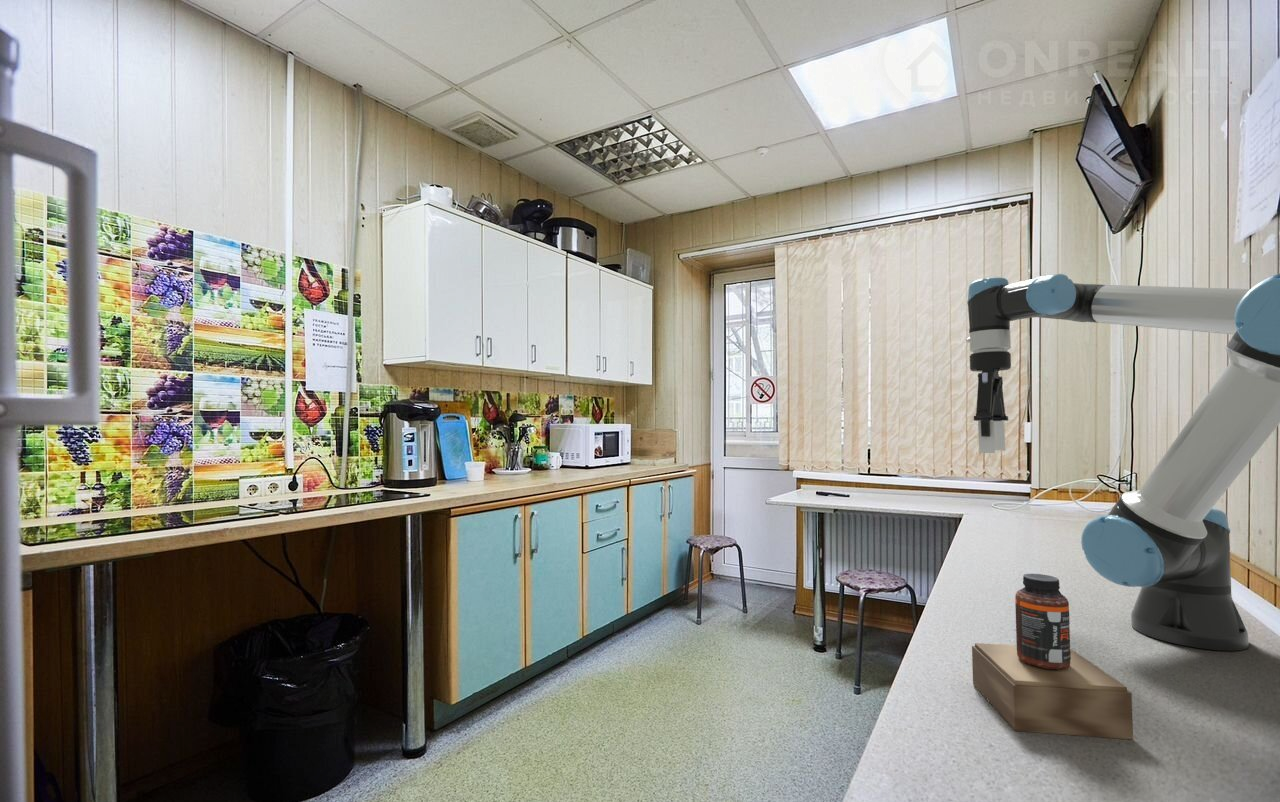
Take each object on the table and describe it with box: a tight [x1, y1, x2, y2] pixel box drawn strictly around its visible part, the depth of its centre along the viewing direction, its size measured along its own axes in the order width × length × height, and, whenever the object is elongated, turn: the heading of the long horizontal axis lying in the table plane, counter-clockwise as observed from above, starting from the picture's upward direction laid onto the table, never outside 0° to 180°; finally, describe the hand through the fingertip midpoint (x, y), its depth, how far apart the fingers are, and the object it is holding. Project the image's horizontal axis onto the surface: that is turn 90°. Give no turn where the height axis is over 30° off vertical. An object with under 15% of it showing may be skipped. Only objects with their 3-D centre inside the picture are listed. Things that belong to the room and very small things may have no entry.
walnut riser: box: [971, 642, 1134, 740], centre depth 77 cm, size 13×13×6 cm
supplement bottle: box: [1014, 573, 1071, 670], centre depth 78 cm, size 6×6×11 cm
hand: (992, 451), depth 123 cm, fingers open, 13 cm apart
